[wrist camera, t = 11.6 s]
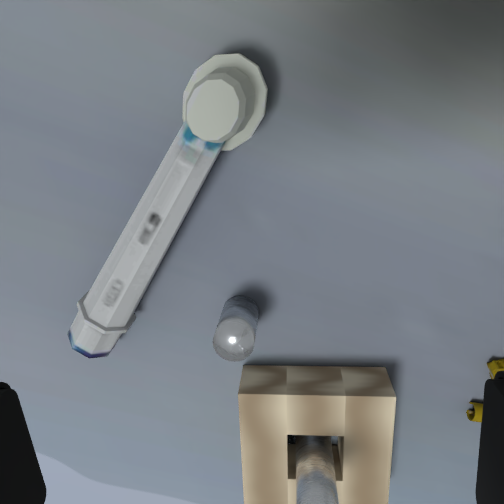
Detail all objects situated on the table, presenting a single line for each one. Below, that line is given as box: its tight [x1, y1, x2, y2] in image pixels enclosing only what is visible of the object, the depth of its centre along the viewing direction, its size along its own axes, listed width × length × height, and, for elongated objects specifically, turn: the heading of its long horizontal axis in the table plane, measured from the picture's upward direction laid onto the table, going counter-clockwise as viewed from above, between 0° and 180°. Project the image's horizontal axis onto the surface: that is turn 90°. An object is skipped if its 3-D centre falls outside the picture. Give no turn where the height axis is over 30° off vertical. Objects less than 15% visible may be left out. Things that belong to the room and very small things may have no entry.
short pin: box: [213, 296, 259, 362], centre depth 34 cm, size 3×3×5 cm
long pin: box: [295, 435, 339, 504], centre depth 34 cm, size 3×3×12 cm
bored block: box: [238, 365, 396, 504], centre depth 37 cm, size 12×12×4 cm
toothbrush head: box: [68, 53, 268, 358], centre depth 32 cm, size 5×7×25 cm
